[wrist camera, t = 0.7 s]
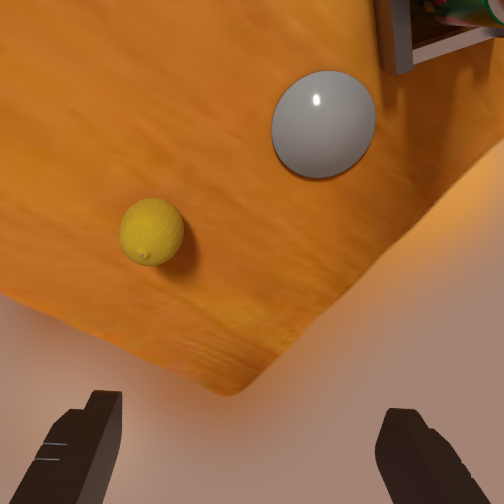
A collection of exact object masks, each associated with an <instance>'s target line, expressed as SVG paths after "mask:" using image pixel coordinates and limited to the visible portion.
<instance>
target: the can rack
mask: <svg viewBox="0 0 504 504" xmlns="http://www.w3.org/2000/svg"><path fill="white" fill-rule="evenodd" d="M374 4H375V14H376V23H377V32H378V42H379V51H380V60H381V69H382V70H384V71H387V72H390V73H392V74H395V75H400V74H403V73H406V72H409V71H412V70H414V66H413V65H414V64H417V63H420V62H423V61H426V60H429V59H432V58H435V57H438V56H441V55H444V54H447V53H450V52H452V51H455V50H458V49H461V48H464V47H467V46H470V45H473V44H476V43H479V42H482V41H485V40H488V39H491V38H494V37H500V38H504V28H491V27H471V26H466V27H463V28H460V29H457V30H454V31H451V32H448V33H445V34H442V35H440V36H437V37H434V38H431V39H428V40H425V41H422V42H419V43H417V44H414V45H412V34H411V18H410V2H409V0H374Z"/></svg>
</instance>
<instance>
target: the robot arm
mask: <svg viewBox="0 0 504 504" xmlns="http://www.w3.org/2000/svg"><path fill="white" fill-rule="evenodd" d="M121 435H122V392H120V391H103V390H94V391H93V392H92V394H91V396H90V398H89V400H88V402H87V404H86V406H85V408H84V410H81V409H69V410H68V411H67V412H66V413H65V414H64V415H63V416H62V417H60V418H59V419H58V420H57V421H56V422H55V423H54V424H53V425H52V427H51V429H50V431H49V433H48V434H47V436H46V438H45V440H44V442H43V445H42V446H41V447H40V449H39V451H38V452H37V454H36V456H35V459H34V461H33V462H32V463H31V465H30V467H29V468H28V470H27V472H26V474H25V476H24V478H23V479H22V481H21V483H20V485H19V486H18V488H17V490H16V492H15V494H14V496H13V497H12V499H11V501H10V503H9V504H102V503H103V500H104V497H105V493H106V490H107V487H108V484H109V481H110V478H111V475H112V472H113V468H114V465H115V462H116V459H117V455H118V452H119V447H120V442H121ZM375 458H376V463H377V466H378V469H379V471H380V473H381V476H382V478H383V481H384V483H385V485H386V487H387V490H388V492H389V495H390V497H391V499H392V501H393V503H394V504H491V503H490V502H489V500H488V499H487V497H486V496H485V495H484V493H483V491H482V490H481V488H480V487H479V486H478V484H477V483H476V481H475V480H474V479H473V478H471V474H470V472H469V471H468V469H467V468H466V466H465V465H464V464H462V463H461V459H460V458H459V456H458V455H457V453H456V452H455V450H454V449H453V447H452V446H451V445H450V443H449V442H448V441H446V440H445V439H444V438H443V437H442V436H441V435H440V434H439V433H438V432H437V431H436V430H435V429H430V428H428V426H427V425H426V423H425V422H424V420H423V419H422V417H421V415H420V414H419V413H418V412H417V411H416V410H414V409H399V408H389V409H388V410H387V412H386V416H385V418H384V421H383V424H382V427H381V430H380V433H379V436H378V439H377V442H376V445H375Z"/></svg>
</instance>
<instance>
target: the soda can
mask: <svg viewBox="0 0 504 504" xmlns="http://www.w3.org/2000/svg"><path fill="white" fill-rule="evenodd" d="M409 2H410V15H411V16H412V17H413V18H414V19H415V20H417V21H418V22H420V23H423V24H431V25H451V26H471V27H491V28H504V0H409Z"/></svg>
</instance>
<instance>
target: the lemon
mask: <svg viewBox="0 0 504 504" xmlns="http://www.w3.org/2000/svg"><path fill="white" fill-rule="evenodd" d="M183 237H184V223H183V219H182V216H181V215H180V213H179V211H178V210H177V209H176V208H175V206H174V205H172V204H171V203H169V202H168V201H165V200H163V199H159V198H147V199H144V200H141V201H138V202H137V203H135V204H134V205H132V206H131V207H130V208H129V210H128V211H127V212H126V213H125V215H124V217H123V219H122V222H121V224H120V230H119V240H120V245H121V248H122V250H123V251H124V253H125V254H126V256H127V257H128V258H129V259H131V260H132V261H133V262H135V263H138V264H140V265H144V266H156V265H160V264H162V263H165V262H166V261H168V260H169V259H170V258H172V257H173V256H174V254H175V253H176V252H177V250H178V249H179V247H180V246H181V243H182V240H183Z"/></svg>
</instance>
